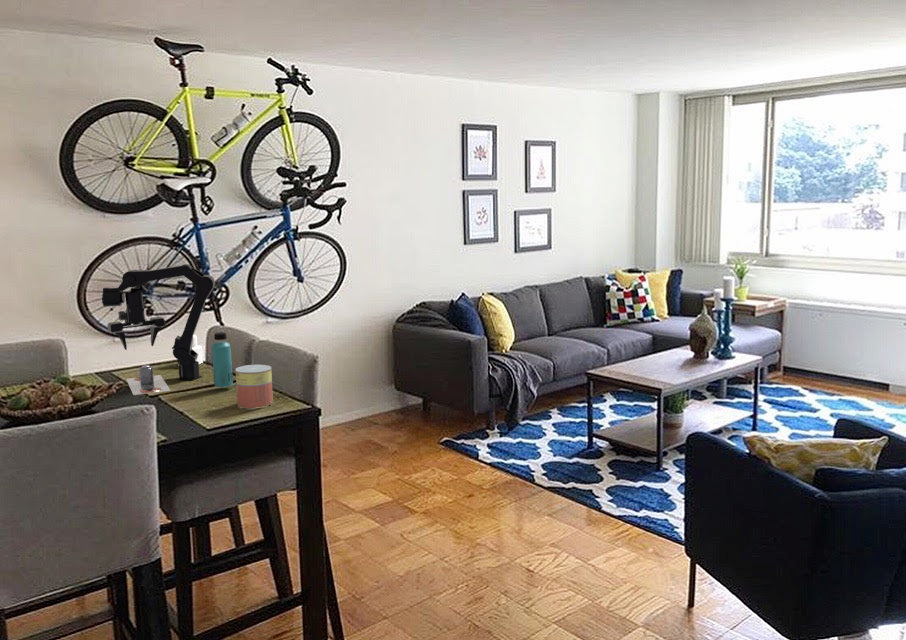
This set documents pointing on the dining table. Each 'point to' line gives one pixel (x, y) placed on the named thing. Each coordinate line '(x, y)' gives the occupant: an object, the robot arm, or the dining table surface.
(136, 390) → the flange strip
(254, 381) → the canned food
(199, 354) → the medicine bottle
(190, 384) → the dining table surface
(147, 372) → the locating pin
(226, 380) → the beverage bottle
